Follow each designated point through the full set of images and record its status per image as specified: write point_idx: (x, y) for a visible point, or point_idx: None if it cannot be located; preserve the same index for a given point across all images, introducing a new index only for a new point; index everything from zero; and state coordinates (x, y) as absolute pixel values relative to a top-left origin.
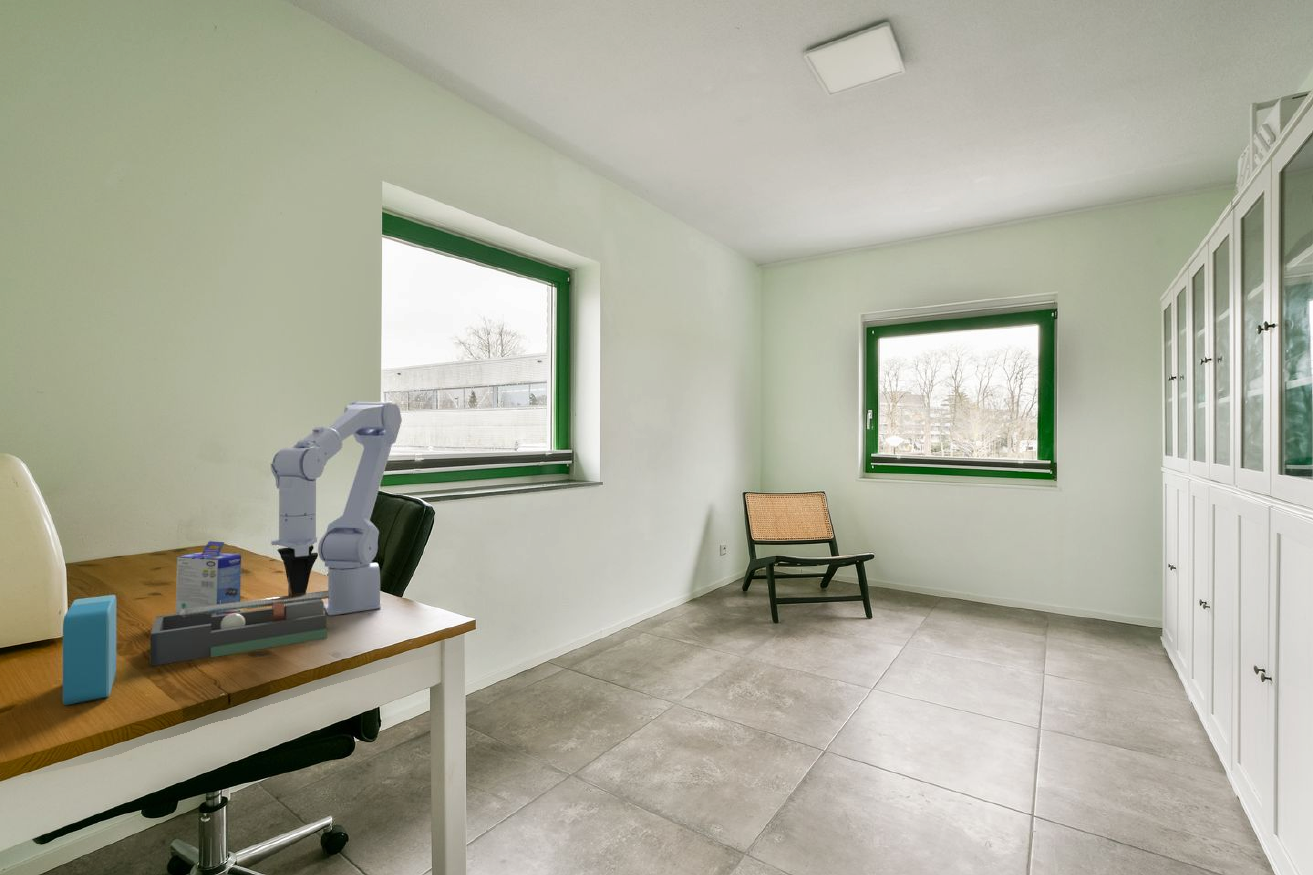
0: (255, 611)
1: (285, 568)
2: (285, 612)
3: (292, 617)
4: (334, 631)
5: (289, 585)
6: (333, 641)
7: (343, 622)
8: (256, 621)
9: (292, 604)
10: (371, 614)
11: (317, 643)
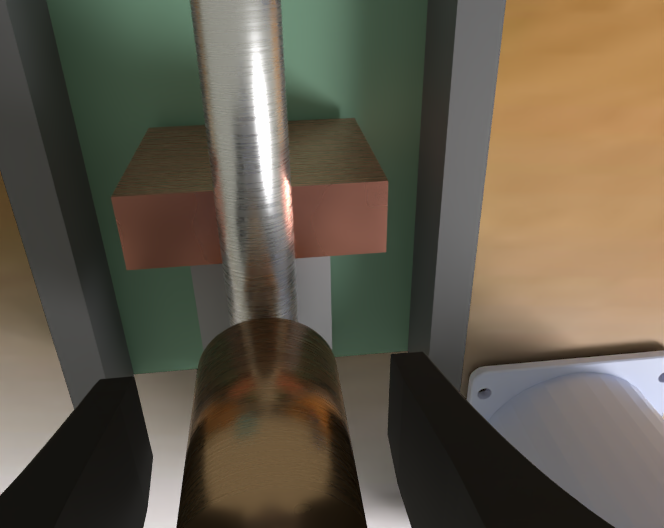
0: (455, 23)
1: (458, 482)
2: None
3: None
4: (192, 377)
5: (228, 394)
6: (15, 370)
7: None
8: (430, 19)
9: None
10: (388, 501)
11: (8, 309)
